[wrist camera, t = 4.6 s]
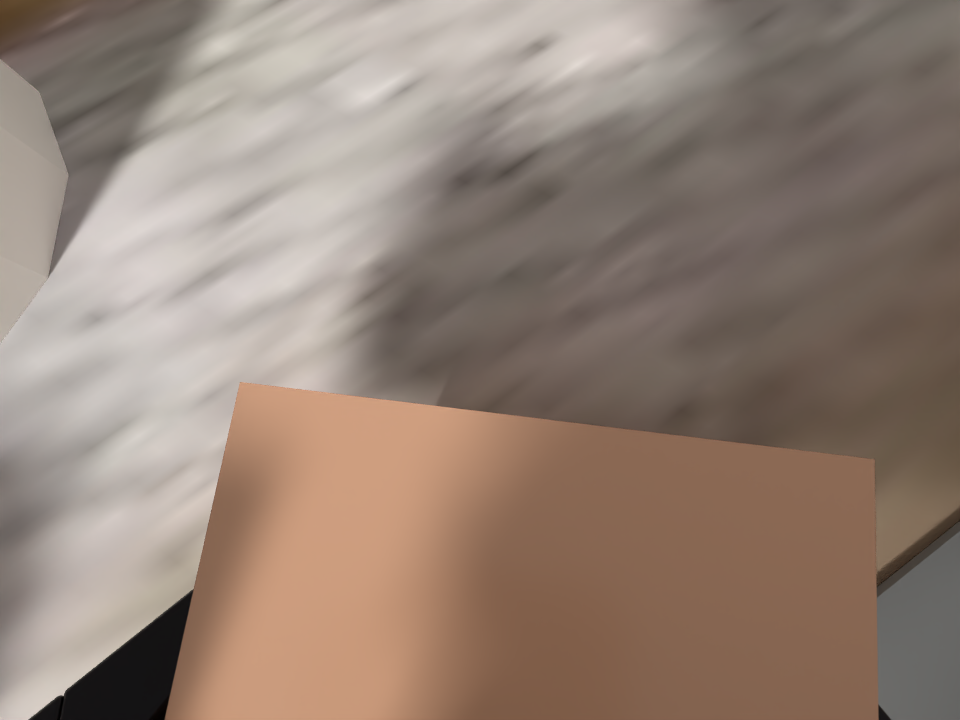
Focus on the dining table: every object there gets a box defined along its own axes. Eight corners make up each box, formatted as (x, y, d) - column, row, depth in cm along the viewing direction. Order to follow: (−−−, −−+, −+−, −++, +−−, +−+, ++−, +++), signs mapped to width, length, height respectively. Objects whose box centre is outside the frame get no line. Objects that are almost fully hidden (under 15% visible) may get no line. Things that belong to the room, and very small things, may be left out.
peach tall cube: (650, 482, 15) (874, 459, 6) (631, 754, 14) (886, 1344, 4) (410, 451, 16) (240, 381, 6) (370, 709, 15) (70, 1138, 5)
